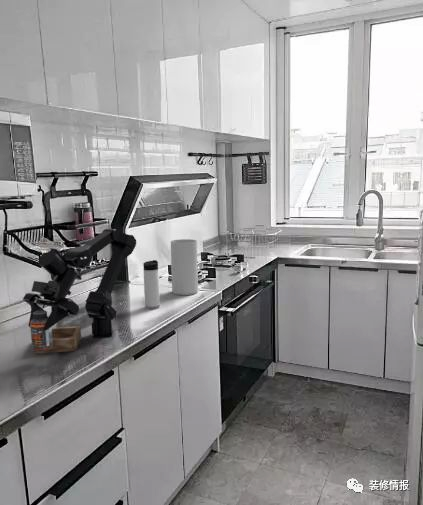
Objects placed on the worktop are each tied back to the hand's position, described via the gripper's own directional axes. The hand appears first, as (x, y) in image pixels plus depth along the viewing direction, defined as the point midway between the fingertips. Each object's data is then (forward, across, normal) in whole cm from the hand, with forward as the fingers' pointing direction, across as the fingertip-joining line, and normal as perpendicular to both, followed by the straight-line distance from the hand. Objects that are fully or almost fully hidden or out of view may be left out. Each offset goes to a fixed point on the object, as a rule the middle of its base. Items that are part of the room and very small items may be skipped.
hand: (37, 328), depth 138 cm
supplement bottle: (+4, 0, +6) cm, 7 cm away
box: (-2, -7, +18) cm, 19 cm away
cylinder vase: (-57, -5, +74) cm, 94 cm away
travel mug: (-38, -4, +54) cm, 66 cm away
